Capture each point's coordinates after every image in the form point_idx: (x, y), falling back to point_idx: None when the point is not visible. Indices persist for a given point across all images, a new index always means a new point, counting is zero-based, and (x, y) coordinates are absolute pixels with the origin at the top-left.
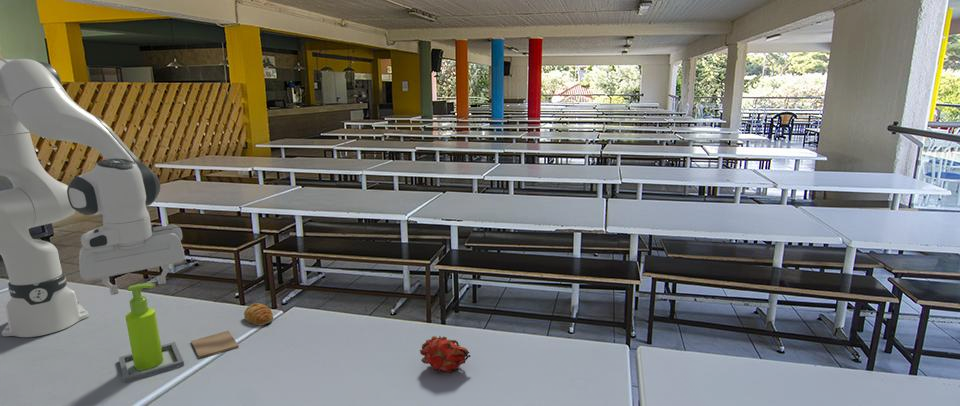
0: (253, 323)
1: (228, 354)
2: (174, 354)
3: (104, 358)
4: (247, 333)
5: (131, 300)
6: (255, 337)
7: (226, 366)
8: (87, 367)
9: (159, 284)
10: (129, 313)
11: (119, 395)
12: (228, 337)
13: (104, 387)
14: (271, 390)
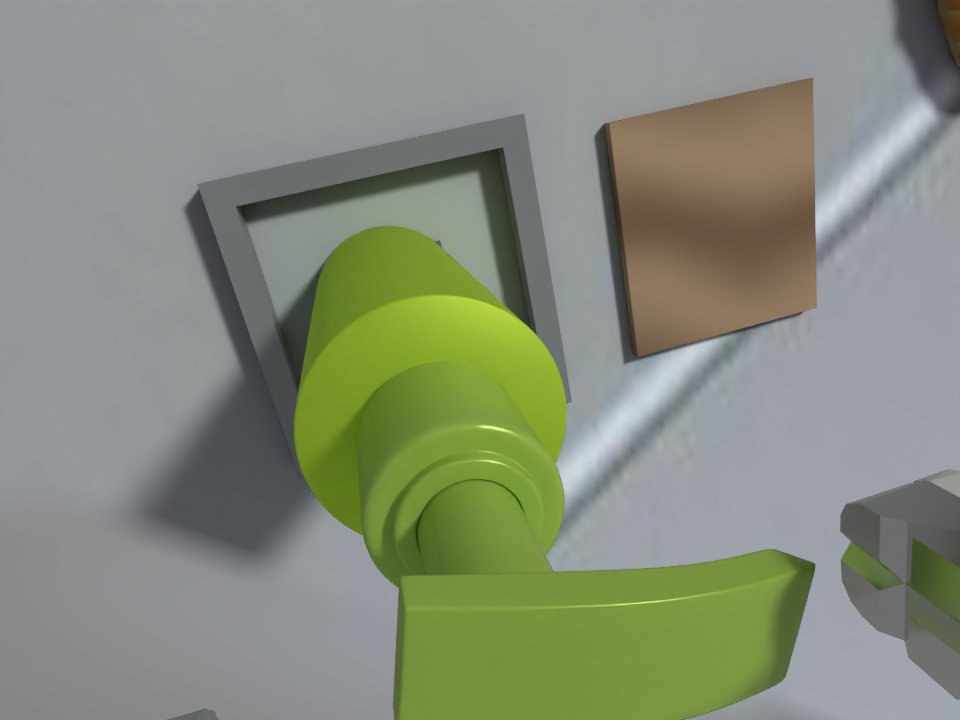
0: (946, 27)
1: (755, 365)
2: (517, 254)
3: (80, 86)
4: (881, 152)
5: (391, 541)
6: (899, 227)
7: (729, 476)
8: (4, 181)
9: (847, 580)
10: (330, 422)
11: (303, 568)
12: (794, 182)
13: (207, 474)
14: (825, 687)
